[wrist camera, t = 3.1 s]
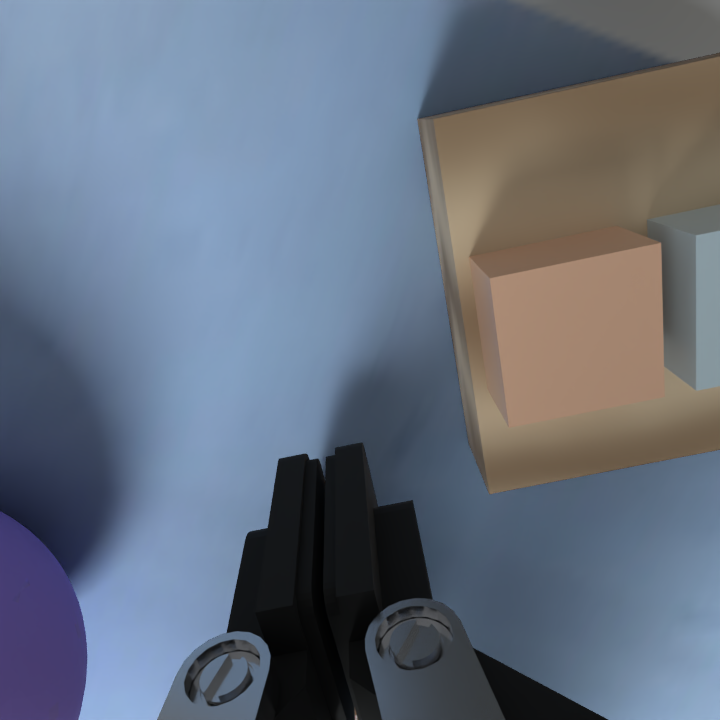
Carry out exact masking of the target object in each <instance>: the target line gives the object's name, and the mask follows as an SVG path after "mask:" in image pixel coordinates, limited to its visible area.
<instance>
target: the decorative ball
mask: <svg viewBox="0 0 720 720" xmlns="http://www.w3.org/2000/svg"><path fill="white" fill-rule="evenodd" d="M86 671H87V643H86V634H85V627H84V622H83V616H82V613H81V609H80V606H79V602H78V599H77V597H76V594H75V592H74V589H73V587H72V585H71V582H70V580H69V579H68V577H67V575H66V573H65V571H64V570H63V568H62V566H61V565H60V564H59V562H58V561H57V559H56V558H55V557H54V555H53V554H52V553H51V552H50V550H49V549H48V548H47V547H46V546H45V545H44V544H43V543H42V542H41V541H40V540H39V539H38V538H37V537H36V536H35V535H34V534H33V533H32V532H31V531H29V530H28V529H27V528H25V527H24V526H23V525H21V524H20V523H19V522H17V521H16V520H14V519H13V518H11V517H10V516H8V515H6V514H4V513H3V512H1V511H0V720H78V718H79V715H80V711H81V706H82V701H83V695H84V690H85V684H86Z"/></svg>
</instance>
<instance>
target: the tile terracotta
mask: <svg viewBox="0 0 720 720" xmlns="http://www.w3.org/2000/svg"><path fill="white" fill-rule="evenodd" d="M469 261H470V268H471V275H472V282H473V289H474V296H475V304H476V311H477V318H478V325H479V332H480V339H481V346H482V354H483V361H484V368H485V375H486V382H487V389H488V391H489V393H490V395H491V397H492V398H493V400H494V402H495V404H496V406H497V407H498V409H499V411H500V413H501V414H502V416H503V418H504V420H505V422H506V423H507V425H508V427H509V428H510V427H516V426H521V425H526V424H531V423H536V422H541V421H546V420H551V419H556V418H561V417H566V416H571V415H576V414H581V413H586V412H591V411H597V410H602V409H607V408H612V407H617V406H622V405H627V404H632V403H637V402H642V401H647V400H652V399H657V398H662V397H665V385H664V341H663V297H662V254H661V242H658V241H655V240H653V239H650V238H648V237H645V236H642V235H640V234H637V233H635V232H632V231H629V230H627V229H624V228H621V227H619V226H614V227H609V228H604V229H599V230H595V231H590V232H585V233H580V234H575V235H571V236H566V237H561V238H556V239H552V240H547V241H542V242H537V243H532V244H528V245H523V246H518V247H513V248H509V249H504V250H499V251H494V252H489V253H485V254H480V255H475V256H470V257H469Z"/></svg>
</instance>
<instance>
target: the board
mask: <svg viewBox="0 0 720 720" xmlns="http://www.w3.org/2000/svg"><path fill="white" fill-rule="evenodd" d="M417 120H418V126H419V132H420V139H421V145H422V151H423V158H424V164H425V170H426V177H427V183H428V189H429V195H430V202H431V208H432V214H433V221H434V227H435V233H436V240H437V246H438V252H439V259H440V265H441V271H442V278H443V284H444V290H445V297H446V303H447V309H448V316H449V322H450V328H451V335H452V341H453V347H454V354H455V360H456V366H457V372H458V379H459V385H460V391H461V398H462V404H463V410H464V417H465V423H466V429H467V436H468V442H469V446H470V448H471V451H472V453H473V456H474V458H475V460H476V463H477V465H478V468H479V470H480V473H481V475H482V478H483V480H484V483H485V485H486V487H487V490H488V492H489V494H493V493H498V492H504V491H509V490H514V489H519V488H524V487H529V486H535V485H540V484H545V483H550V482H555V481H560V480H566V479H571V478H576V477H581V476H586V475H591V474H597V473H602V472H607V471H612V470H617V469H622V468H628V467H633V466H638V465H643V464H648V463H653V462H659V461H664V460H669V459H674V458H679V457H684V456H690V455H695V454H700V453H705V452H710V451H715V450H720V386H718V387H713V388H708V389H703V390H698V391H696V390H695V389H693V388H692V387H691V386H689V385H688V384H687V383H685V382H684V381H683V380H681V379H680V378H679V377H677V376H676V375H675V374H673V373H672V372H671V371H670V370H668V369H667V368H666V367H664V385H665V397H662V398H657V399H652V400H647V401H642V402H637V403H632V404H627V405H622V406H617V407H612V408H607V409H602V410H597V411H591V412H586V413H581V414H576V415H571V416H566V417H561V418H556V419H551V420H546V421H541V422H536V423H531V424H526V425H521V426H516V427H510V428H509V427H508V425H507V423H506V422H505V420H504V418H503V416H502V414H501V413H500V411H499V409H498V407H497V406H496V404H495V402H494V400H493V398H492V397H491V395H490V393H489V391H488V389H487V382H486V375H485V368H484V361H483V354H482V346H481V339H480V332H479V325H478V318H477V311H476V304H475V296H474V289H473V282H472V275H471V268H470V261H469V257H470V256H475V255H480V254H485V253H489V252H494V251H499V250H504V249H509V248H513V247H518V246H523V245H528V244H532V243H537V242H542V241H547V240H552V239H556V238H561V237H566V236H571V235H575V234H580V233H585V232H590V231H595V230H599V229H604V228H609V227H614V226H619V227H621V228H624V229H627V230H629V231H632V232H635V233H637V234H640V235H642V236H645V237H648V235H647V219H652V218H657V217H661V216H666V215H671V214H676V213H681V212H685V211H690V210H695V209H700V208H705V207H709V206H714V205H719V204H720V53H716V54H712V55H707V56H703V57H698V58H694V59H689V60H684V61H680V62H675V63H671V64H666V65H662V66H657V67H652V68H648V69H643V70H639V71H634V72H630V73H625V74H620V75H616V76H611V77H607V78H602V79H598V80H593V81H588V82H584V83H579V84H575V85H570V86H566V87H561V88H556V89H552V90H547V91H543V92H538V93H534V94H529V95H524V96H520V97H515V98H511V99H506V100H502V101H497V102H493V103H488V104H483V105H479V106H474V107H470V108H465V109H461V110H456V111H451V112H447V113H442V114H438V115H433V116H429V117H424V118H419V119H417Z"/></svg>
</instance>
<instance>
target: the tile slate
mask: <svg viewBox="0 0 720 720" xmlns="http://www.w3.org/2000/svg"><path fill="white" fill-rule="evenodd" d="M647 235H648V238H650V239H653V240H655V241H658V242H661V254H662V297H663V341H664V367H666V368H667V369H668V370H670V371H671V372H672V373H673V374H675V375H676V376H677V377H679V378H680V379H681V380H683V381H684V382H685V383H687V384H688V385H689V386H691V387H692V388H693V389H695V390H696V391H698V390H703V389H708V388H713V387H718V386H720V204H719V205H714V206H709V207H705V208H700V209H695V210H690V211H685V212H681V213H676V214H671V215H666V216H661V217H657V218H652V219H647Z"/></svg>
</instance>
